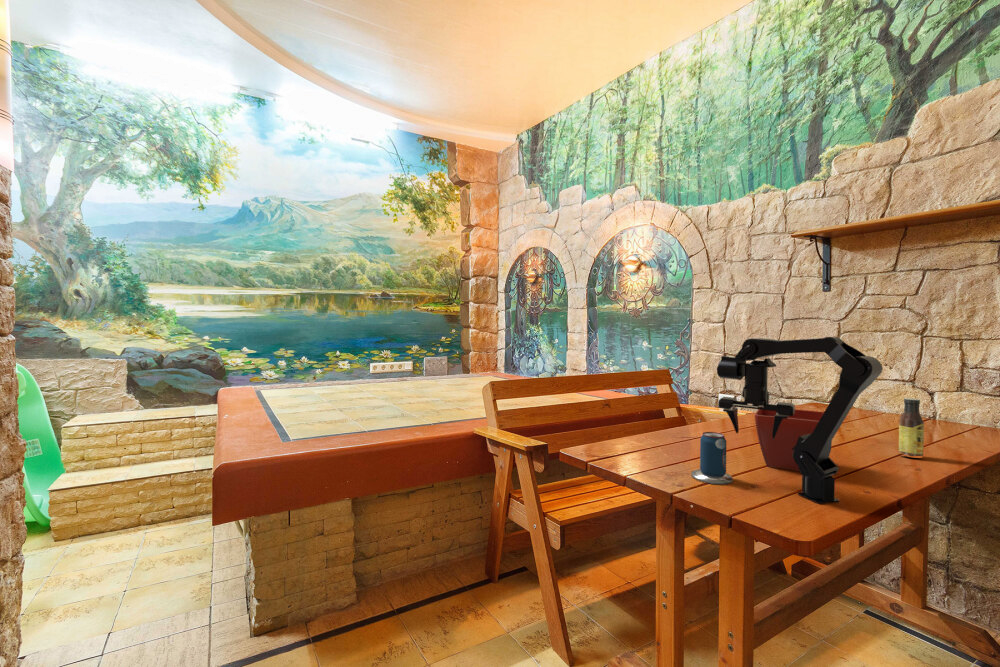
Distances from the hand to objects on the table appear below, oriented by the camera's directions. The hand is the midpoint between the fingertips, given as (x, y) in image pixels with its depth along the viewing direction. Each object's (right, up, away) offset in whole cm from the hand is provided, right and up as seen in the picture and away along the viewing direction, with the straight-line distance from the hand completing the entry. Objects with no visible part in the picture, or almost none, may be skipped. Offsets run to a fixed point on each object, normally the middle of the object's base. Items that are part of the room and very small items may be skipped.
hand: (755, 435), depth 129 cm
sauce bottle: (+67, -13, +24) cm, 72 cm away
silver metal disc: (-12, -13, +2) cm, 17 cm away
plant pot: (+20, -13, +14) cm, 28 cm away
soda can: (-11, -12, +2) cm, 17 cm away
